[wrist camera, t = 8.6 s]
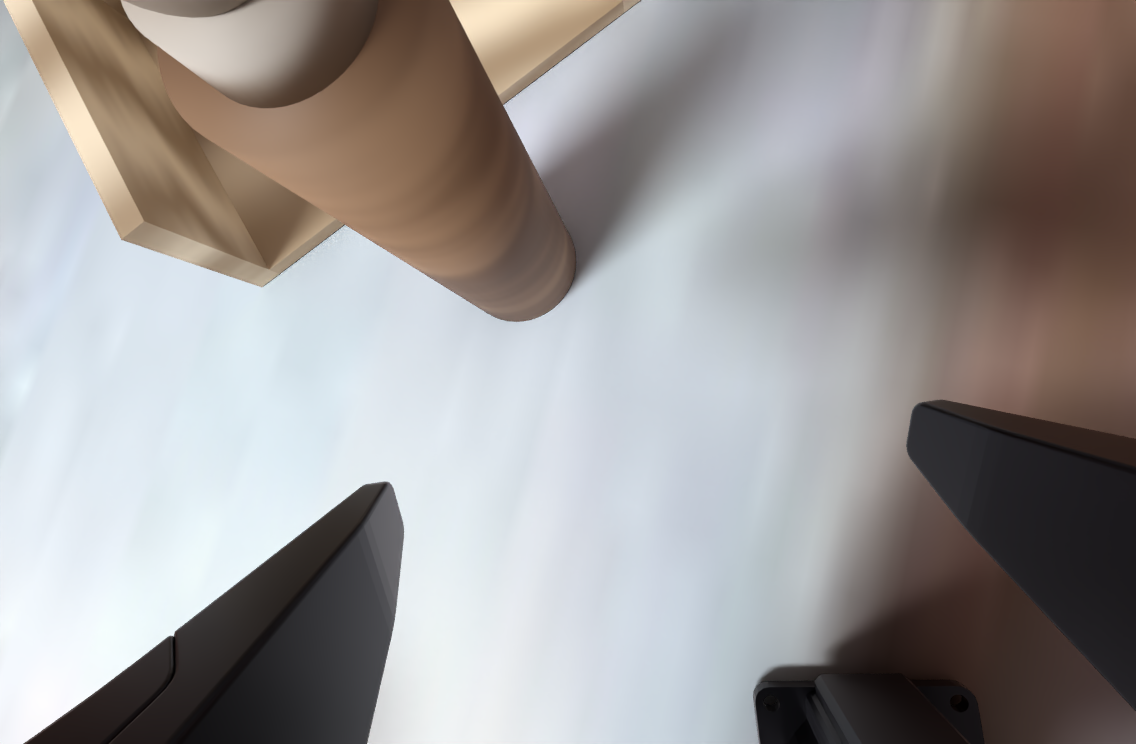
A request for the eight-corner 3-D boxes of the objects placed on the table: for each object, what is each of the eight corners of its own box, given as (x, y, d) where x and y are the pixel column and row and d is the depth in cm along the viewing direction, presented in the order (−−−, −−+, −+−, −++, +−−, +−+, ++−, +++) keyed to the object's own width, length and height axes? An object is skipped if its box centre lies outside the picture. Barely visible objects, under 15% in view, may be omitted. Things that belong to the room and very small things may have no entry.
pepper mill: (581, 313, 20) (205, -179, 4) (468, 328, 21) (-253, -22, 4) (570, 199, 21) (198, -671, 4) (460, 218, 21) (-210, -452, 5)
